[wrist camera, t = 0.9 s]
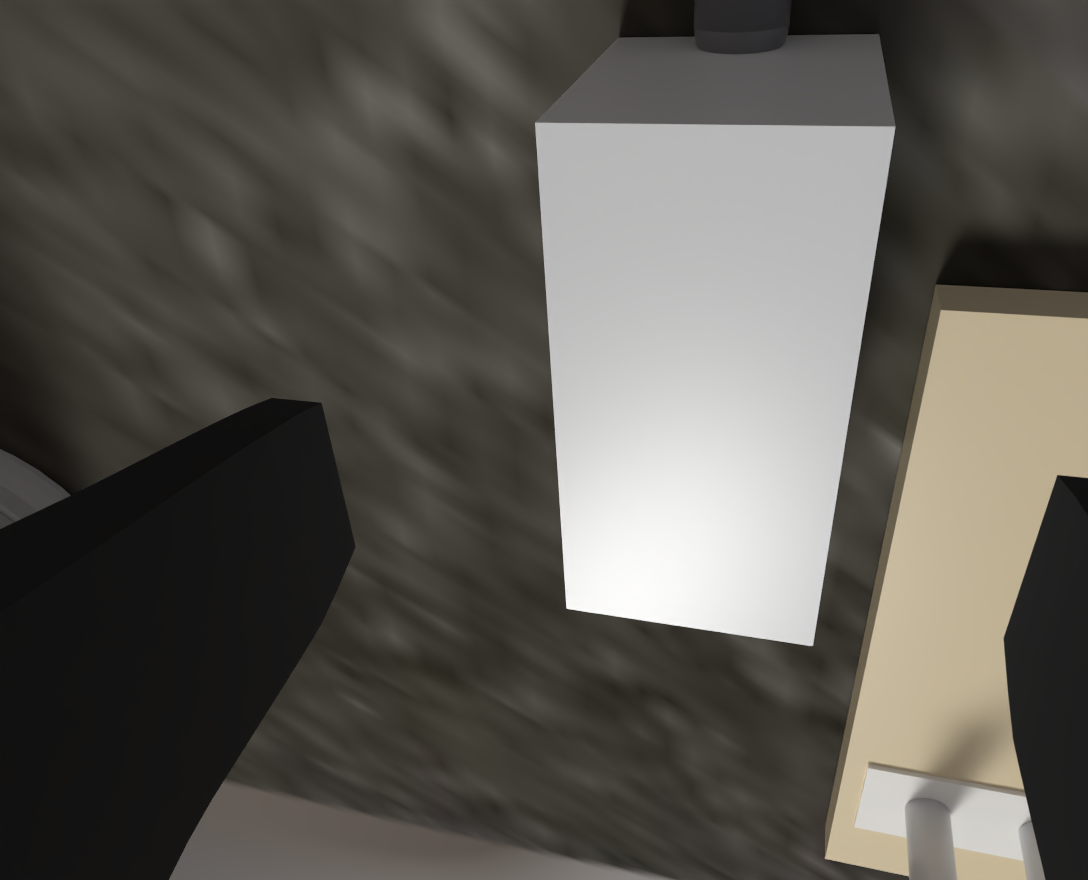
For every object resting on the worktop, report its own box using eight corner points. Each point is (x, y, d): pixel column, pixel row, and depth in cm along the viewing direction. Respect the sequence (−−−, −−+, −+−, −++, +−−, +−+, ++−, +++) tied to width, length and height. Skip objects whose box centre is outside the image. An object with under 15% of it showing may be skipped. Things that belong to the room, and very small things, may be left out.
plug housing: (959, -540, 10) (1038, -769, 6) (817, 468, 18) (811, 652, 14) (612, -485, 11) (485, -651, 7) (623, 447, 19) (566, 613, 15)
